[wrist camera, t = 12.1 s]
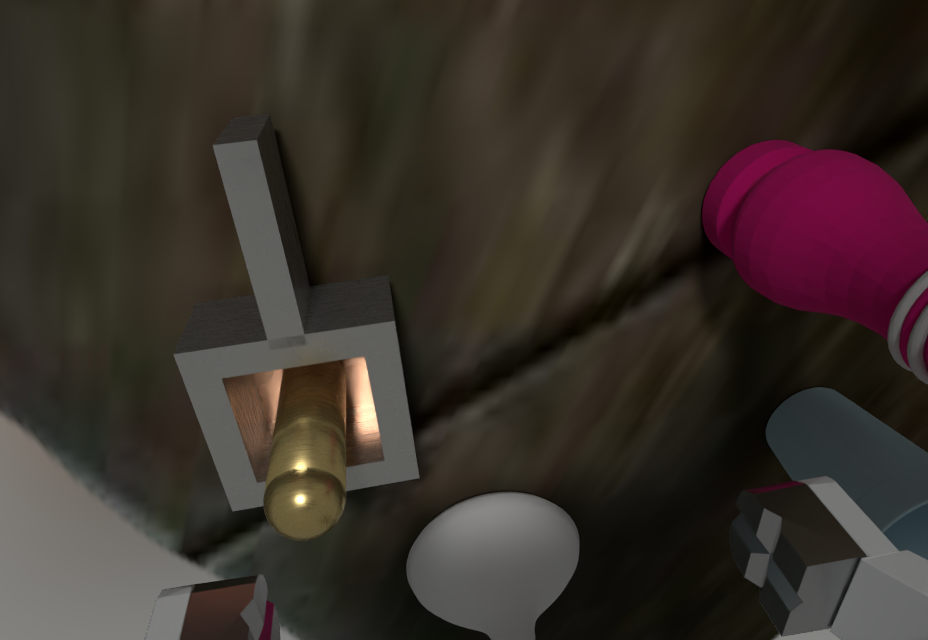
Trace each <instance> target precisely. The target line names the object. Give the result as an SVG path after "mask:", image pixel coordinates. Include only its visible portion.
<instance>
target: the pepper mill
mask: <svg viewBox="0 0 928 640" xmlns="http://www.w3.org/2000/svg"><path fill="white" fill-rule="evenodd" d="M702 221H703V227H704V230H705V233H706V235H707V237H708V238H709V240H710V242H711V243H712V244H713V245H714V246H715V247H716V248H717V249H719V250H720V251H721V252H723V253H724V254H725V255H727V256H728V257H729V258H730V259H732V260H733V262H734V265H735V267H736V270H737V272H738V273H739V275H740V276H741V278H742V279H743V280H744V281H745V282H746V283H747V284H748V285H749V286H750V287H751V288H752V289H753V290H755V291H757V292H758V293H760V294H762V295H763V296H765V297H766V298H768V299H770V300H771V301H773V302H775V303H777V304H781V305H784V306H787V307H790V308H793V309H796V310H801V311H809V312H819V313H826V314H831V315H836V316H841V317H844V318H847V319H850V320H852V321H855V322H858V323H860V324H861V325H863V326H865V327H867V328H869V329H871V330H872V331H874V332H876V333H878V334H880V335H881V336H882V337H884V338H885V339H886V340H887V341H888V347H889V351H890V353H891V355H892V357H893V359H894V360H895V361H896V362H897V363H898V364H899V365H900V366H901V367H903V368H905V369H907V370H909V371H912V372H913V373H914V374H915V376H916V377H917V378H918V379H919V380H921V381H922V382H924V383H926V384H928V223H927V222H926V221H925V219H924V218H923V217H922V216H921V214H920V213H919V212H918V210H917V209H916V207H915V206H914V204H913V203H912V201H911V200H910V198H909V197H908V195H907V194H906V193H905V191H904V190H903V188H902V187H901V186H900V185H899V184H898V183H897V182H896V181H895V180H894V179H893V178H892V177H891V176H890V175H888V174H887V173H886V172H885V171H884V170H883V169H882V168H880V167H879V166H878V165H876V164H874V163H872V162H870V161H868V160H866V159H864V158H862V157H860V156H858V155H856V154H853V153H850V152H846V151H841V150H833V149H829V150H817V151H812V150H810V149H808V148H805V147H803V146H800V145H798V144H795V143H792V142H790V141H784V140H769V141H763V142H760V143H757V144H754V145H751V146H749V147H747V148H745V149H743V150H742V151H740V152H738V153H737V154H735V155H734V156H733V157H732V158H731V159H730V160H729V161H727V162H726V163H725V164H724V165H723V166H722V167H721V168H720V170H719V171H718V173H717V174H716V176H715V177H714V179H713V180H712V181H711V183H710V185H709V188H708V190H707V193H706V195H705V198H704V202H703V210H702Z"/></svg>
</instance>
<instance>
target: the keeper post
mask: <svg viewBox="0 0 928 640" xmlns="http://www.w3.org/2000/svg"><path fill="white" fill-rule="evenodd" d="M253 378H254V381H255V384H256V387H257V391H258V394H259V397H260V400H261V404H262V407H263V410H264V413H265V417H266V420H267V422H273V421H275V426H274V432H273V439H272V445H271V452H270V458H269V465H268V471H267V478H266V484H265V491H264V498H263V505H264V511H265V515H266V517H267V520H268V521H269V523H270V525H271V526H272V527H273V528H274V529H275V530H276V531H277V532H278V533H279V534H281V535H282V536H284V537H286V538H289V539H292V540H298V541H306V540H312V539H315V538H318V537H320V536H322V535H324V534H326V533H327V532H328V531H330V530H331V529H332V528H333V527H334V526H335V525H336V524H337V522H338V521H339V519H340V518H341V516H342V514H343V511H344V508H345V504H346V409H352V408H358V407H364V406H370V405H374V402H373V397H372V392H371V387H370V381H369V376H368V371H367V366H366V361H365V356H363V357H356V358H350V359H344V360H337V361H331V362H324V363H318V364H312V365H305V366H299V367H292V368H286V369H280V370H273V371H267V372H260V373H254V374H253Z"/></svg>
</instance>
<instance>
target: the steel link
mask: <svg viewBox="0 0 928 640" xmlns="http://www.w3.org/2000/svg"><path fill="white" fill-rule="evenodd" d="M213 148H214V152H215V155H216V159H217V163H218V166H219V170H220V173H221V177H222V180H223V184H224V187H225V191H226V194H227V198H228V202H229V205H230V209H231V212H232V216H233V219H234V223H235V226H236V230H237V233H238V237H239V241H240V244H241V248H242V251H243V255H244V258H245V262H246V265H247V269H248V272H249V276H250V280H251V283H252V287H253V290H254V295H247V296H240V297H233V298H226V299H219V300H213V301H206V302H199V303H196V305H195V307H194V309H193V311H192V314H191V316H190V318H189V321H188V323H187V325H186V327H185V330H184V332H183V334H182V336H181V339H180V341H179V343H178V345H177V348H176V350H175V352H174V357H175V360H176V362H177V365H178V367H179V370H180V373H181V375H182V378H183V381H184V383H185V386H186V389H187V391H188V394H189V397H190V399H191V402H192V405H193V407H194V410H195V413H196V415H197V418H198V421H199V423H200V426H201V428H202V431H203V434H204V436H205V439H206V442H207V444H208V447H209V450H210V452H211V455H212V458H213V460H214V463H215V466H216V468H217V471H218V474H219V476H220V479H221V482H222V484H223V487H224V489H225V492H226V495H227V497H228V500H229V503H230V505H231V508H232V511H237V510H243V509H248V508H254V507H260V506H264V505H263V498H264V491H265V484H266V478H267V471H268V465H269V458H270V452H271V445H272V439H273V432H274V426H275V421H273V422H267V420H266V417H265V413H264V410H263V407H262V404H261V400H260V397H259V394H258V391H257V387H256V384H255V381H254V378H253V374H254V373H260V372H267V371H273V370H280V369H286V368H292V367H299V366H305V365H312V364H318V363H324V362H331V361H337V360H344V359H350V358H356V357H363V356H365V361H366V366H367V371H368V376H369V381H370V387H371V392H372V397H373V402H374V405H370V406H364V407H358V408H352V409H346V491H350V490H355V489H361V488H367V487H372V486H378V485H383V484H389V483H395V482H400V481H406V480H412V479H417V478H419V471H418V465H417V458H416V451H415V444H414V437H413V430H412V423H411V416H410V410H409V404H408V397H407V391H406V385H405V378H404V372H403V365H402V359H401V353H400V346H399V340H398V334H397V327H396V321H395V315H394V308H393V302H392V295H391V289H390V283H389V276H388V275H386V276H379V277H373V278H366V279H359V280H352V281H345V282H338V283H331V284H324V285H317V286H310V285H309V281H308V277H307V272H306V268H305V264H304V259H303V255H302V251H301V246H300V242H299V238H298V233H297V229H296V225H295V220H294V216H293V211H292V207H291V203H290V198H289V194H288V190H287V185H286V181H285V177H284V172H283V168H282V164H281V159H280V155H279V151H278V146H277V142H276V138H275V133H274V129H273V125H272V120H271V116H270V114H263V115H254V116H246V117H237V118H232V120H231V121H230V122H229V124H228V125H227V126H226V128H225V129H224V131H223V132H222V133H221V135H220V136H219V137H218V139H217V140H216V141H215V143H214V144H213Z"/></svg>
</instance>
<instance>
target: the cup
mask: <svg viewBox="0 0 928 640" xmlns="http://www.w3.org/2000/svg"><path fill="white" fill-rule="evenodd" d="M766 439H767V443H768V444H769V446H770V448H771V449H772V451H773V452H774V454H775V455H776V457H777V458H778V460H779V461H780V463H781V464H782V466H783V467H784V469H785V470H786V472H787V473H788V475H789V476H790V478H791V479H792V481H799V480H805V479H810V478H816V477H822V476H828V477H829V478H831V479H833V480H834V481H836V482H837V484H838V485H839V486H840V487H841V488H842V489H843V490H844V491H845V492H846V493H847V495H848V496H849V497H850V498H851V499H852V500H853V501H854V502H855V503H856V504H857V505H858V507H859V508H860V509H861V510H862V511H863V512H864V513H865V514H866V515H867V516H868V518H869V519H870V520H871V521H872V522H873V523H874V524H875V525H876V526H877V527H878V528H879V530H880V531H881V532H882V533H883V534H884V535H885V536H886V537H887V538H888V539H889V541H890V542H891V543H892V544H893V545H894V546H895V547H896V548H897V549H898V550H899V551H903V550H909V551H911V552H913V553H915V554H917V555H919V556H920V557H922V558H924V559H926V560H928V453H927V452H926V451H924V450H923V449H921V448H920V447H918V446H917V445H915V444H914V443H912V442H911V441H909V440H908V439H907V438H905V437H904V436H902V435H901V434H899V433H898V432H896V431H895V430H893V429H892V428H890V427H889V426H887V425H886V424H884V423H883V422H881V421H880V420H878V419H877V418H876V417H874V416H873V415H871V414H870V413H868V412H867V411H865V410H864V409H862V408H861V407H859V406H858V405H856V404H855V403H853V402H852V401H850V400H849V399H847V398H846V397H844V396H843V395H841V394H840V393H838V392H837V391H835V390H833V389H830V388H824V387H815V388H810V389H806V390H803V391H801V392H798V393H796V394H794V395H793V396H791V397H789V398H788V399H787V400H785V401H784V402H783V403H782V404H781V405H779V407H778V408H777V409H776V410H775V411H774V412H773V414H772V415H771V417H770V419H769V421H768V423H767V427H766Z"/></svg>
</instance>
